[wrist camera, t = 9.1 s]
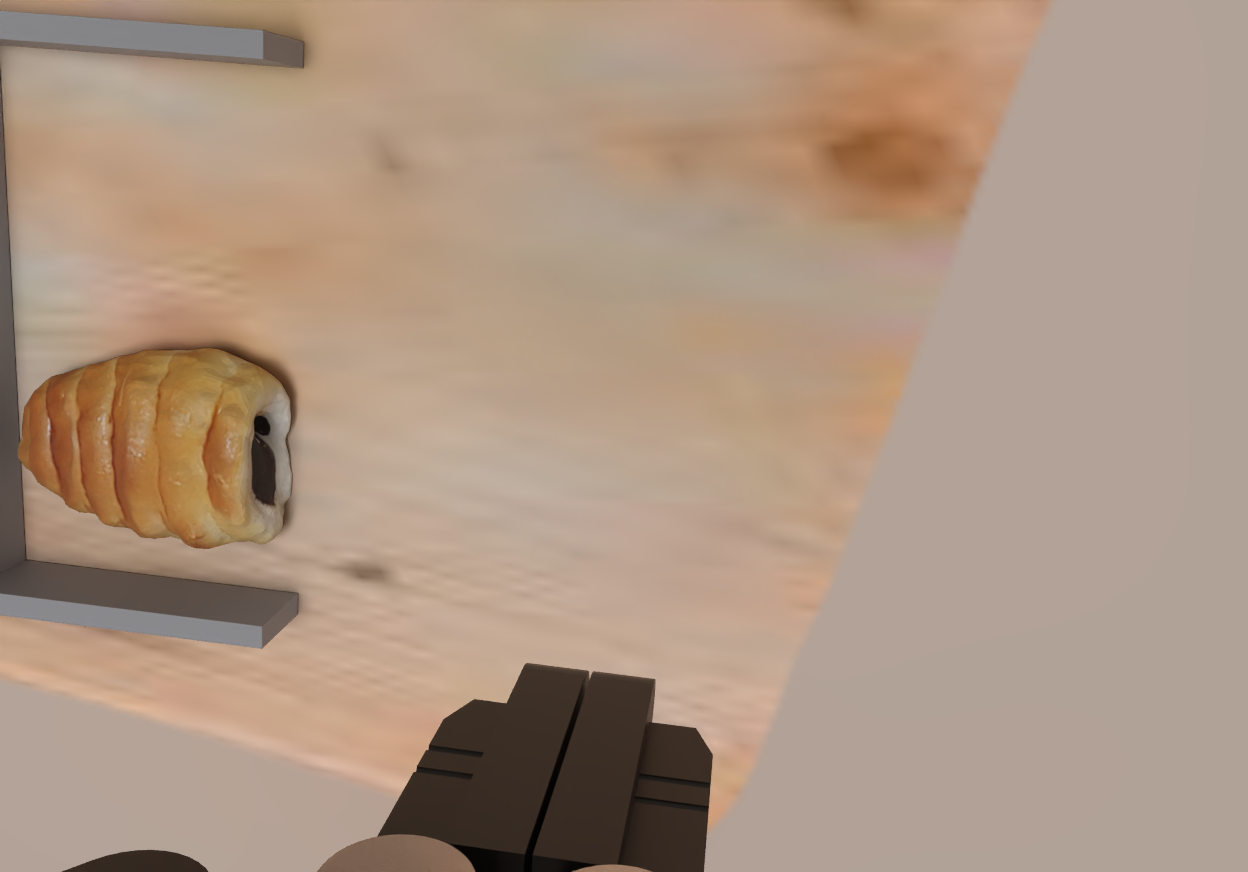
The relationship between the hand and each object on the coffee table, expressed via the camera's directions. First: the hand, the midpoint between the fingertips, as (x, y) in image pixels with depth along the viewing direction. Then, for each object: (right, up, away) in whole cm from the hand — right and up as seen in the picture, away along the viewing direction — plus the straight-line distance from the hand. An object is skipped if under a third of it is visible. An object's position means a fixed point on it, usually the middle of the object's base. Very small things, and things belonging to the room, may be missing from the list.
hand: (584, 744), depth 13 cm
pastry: (-15, +3, +27) cm, 31 cm away
